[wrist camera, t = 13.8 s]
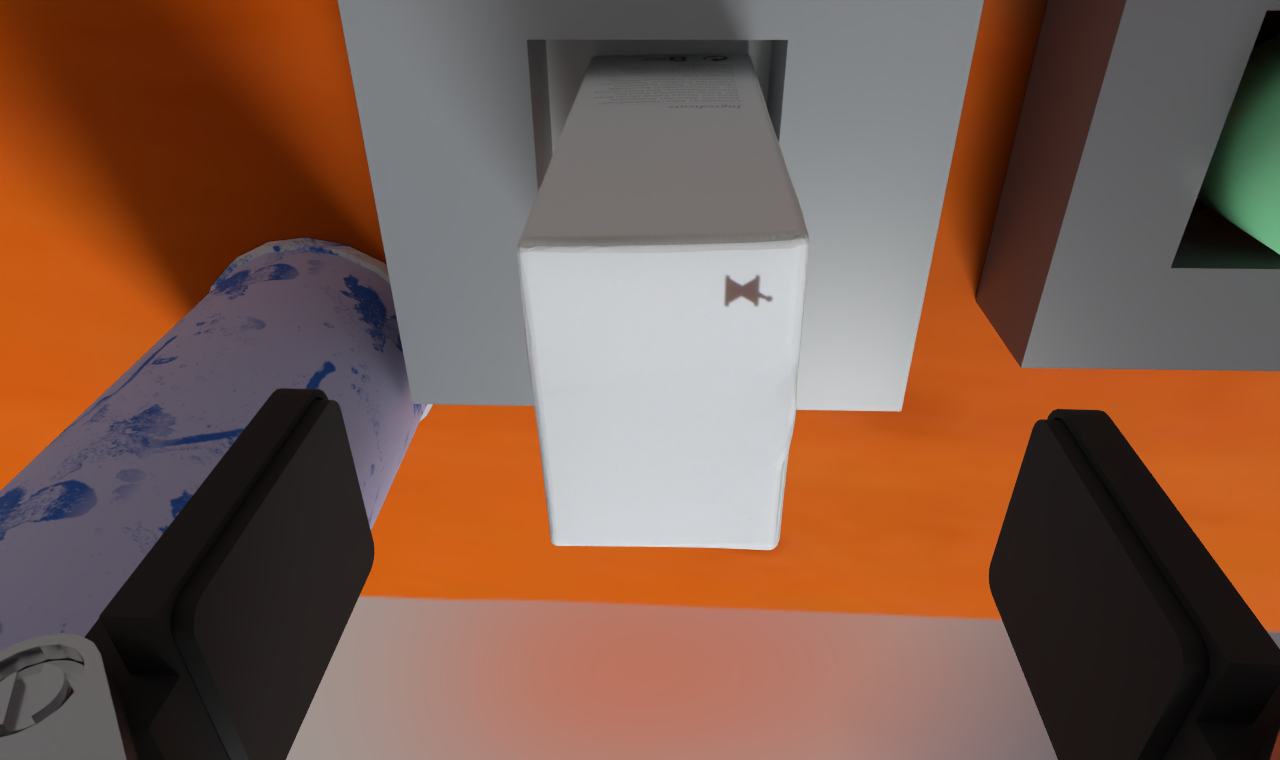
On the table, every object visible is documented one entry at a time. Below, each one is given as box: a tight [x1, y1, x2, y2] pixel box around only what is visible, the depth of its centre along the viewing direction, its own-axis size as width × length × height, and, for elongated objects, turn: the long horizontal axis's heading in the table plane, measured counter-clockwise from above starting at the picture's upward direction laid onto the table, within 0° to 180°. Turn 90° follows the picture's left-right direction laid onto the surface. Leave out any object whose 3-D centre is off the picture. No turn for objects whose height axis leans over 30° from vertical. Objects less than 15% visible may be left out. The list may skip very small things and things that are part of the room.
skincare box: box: [517, 54, 810, 550], centre depth 18 cm, size 6×4×12 cm
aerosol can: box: [0, 238, 433, 651], centre depth 19 cm, size 8×8×20 cm
